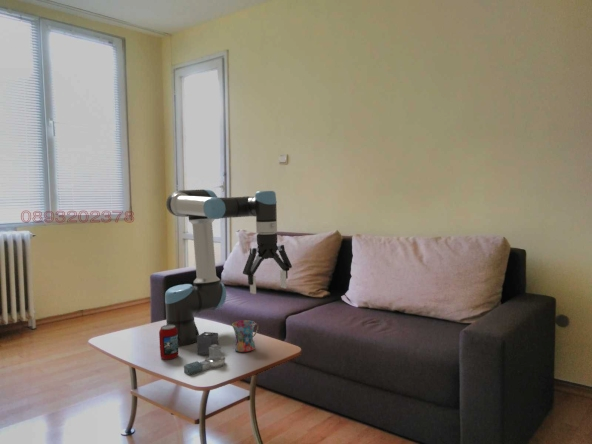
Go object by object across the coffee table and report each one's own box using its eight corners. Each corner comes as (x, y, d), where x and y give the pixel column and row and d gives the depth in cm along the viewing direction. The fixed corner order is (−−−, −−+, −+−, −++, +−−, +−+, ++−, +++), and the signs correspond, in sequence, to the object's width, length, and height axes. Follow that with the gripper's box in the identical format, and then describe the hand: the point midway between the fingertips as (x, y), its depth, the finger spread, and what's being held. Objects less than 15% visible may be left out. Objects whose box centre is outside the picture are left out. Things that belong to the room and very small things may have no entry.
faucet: (182, 371, 158) (181, 351, 158) (218, 359, 169) (217, 340, 168) (191, 376, 153) (190, 356, 153) (228, 364, 163) (227, 345, 163)
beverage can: (168, 361, 168) (167, 330, 168) (156, 358, 172) (155, 327, 171) (182, 355, 174) (180, 325, 173) (170, 353, 178) (168, 323, 177)
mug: (242, 355, 172) (241, 328, 172) (228, 350, 179) (227, 324, 178) (266, 347, 181) (265, 321, 180) (251, 342, 187) (250, 317, 187)
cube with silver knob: (197, 354, 175) (196, 335, 174) (205, 349, 180) (204, 331, 180) (211, 355, 173) (210, 336, 172) (218, 350, 179) (218, 331, 178)
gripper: (243, 236, 153) (245, 297, 154) (299, 231, 168) (301, 286, 170) (231, 235, 159) (234, 294, 160) (287, 230, 174) (289, 284, 176)
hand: (268, 290), depth 165 cm, fingers open, 13 cm apart
